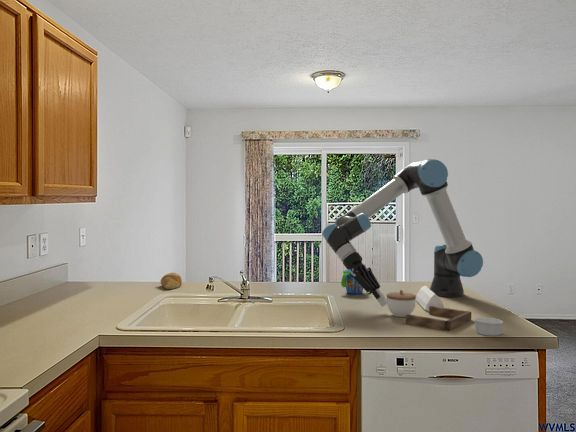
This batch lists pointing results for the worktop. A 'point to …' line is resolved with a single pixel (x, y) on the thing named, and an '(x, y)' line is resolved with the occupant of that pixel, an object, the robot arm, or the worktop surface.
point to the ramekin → (488, 326)
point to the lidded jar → (401, 303)
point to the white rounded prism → (428, 298)
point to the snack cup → (351, 283)
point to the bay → (456, 319)
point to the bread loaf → (171, 281)
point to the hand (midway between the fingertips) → (385, 304)
